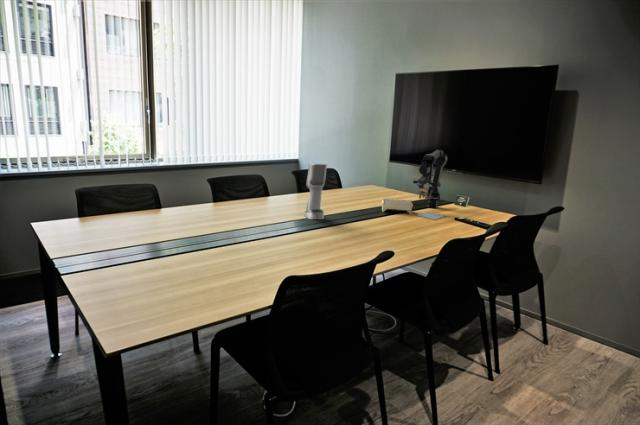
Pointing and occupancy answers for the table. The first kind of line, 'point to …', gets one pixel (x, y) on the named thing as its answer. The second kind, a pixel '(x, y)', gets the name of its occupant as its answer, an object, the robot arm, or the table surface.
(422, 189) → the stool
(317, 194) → the thermal camera
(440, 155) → the robot arm
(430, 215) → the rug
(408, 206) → the toy sofa
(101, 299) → the table surface
